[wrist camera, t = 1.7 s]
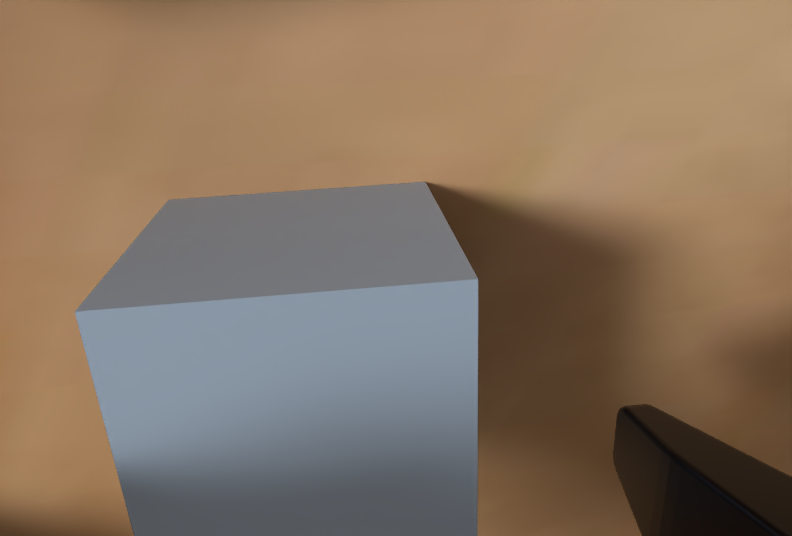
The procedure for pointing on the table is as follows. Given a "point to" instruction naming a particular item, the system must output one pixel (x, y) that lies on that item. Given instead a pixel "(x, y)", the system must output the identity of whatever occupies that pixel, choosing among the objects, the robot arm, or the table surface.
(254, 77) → the table surface
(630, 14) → the table surface
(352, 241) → the blue cube
